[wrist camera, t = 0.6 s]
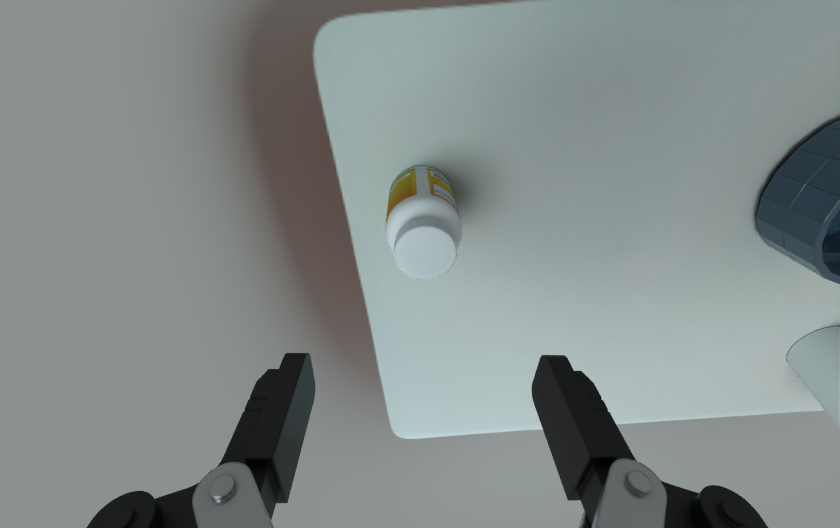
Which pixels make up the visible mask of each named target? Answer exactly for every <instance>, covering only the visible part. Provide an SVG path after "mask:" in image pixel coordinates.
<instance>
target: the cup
mask: <svg viewBox="0 0 840 528" xmlns="http://www.w3.org/2000/svg"><path fill="white" fill-rule="evenodd" d="M786 357H787V362H788V363H789V364H790V366H791V367H792V368H793V370H794V371H795V372H796V373H797V375H798V376H799V377H800V379H801V380H802V381H803V382H804V384H805V385H806V386H807V388H808V389H809V390H810V391H811V393H812V394H813V395H814V397H815V398H816V399H817V401H818V402H819V403H820V404H821V406H822V407H823V408H824V410H825V411H826V412H827V413H828V414H829V416H830V417H831V419H832V420H833V421H834V422H835V424H836V425H837V426H838V428H839V429H840V326H837V327H828V328H823V329H820V330H817V331H815V332H812V333H810V334H808V335H806V336H805V337H803V338H802V339H800V340H799V341H797V342H796V343H795V344H794V345H793V346H792V347H791V349H790V350H789V351H788V354H787V356H786Z"/></svg>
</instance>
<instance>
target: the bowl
mask: <svg viewBox="0 0 840 528" xmlns="http://www.w3.org/2000/svg"><path fill="white" fill-rule="evenodd" d="M757 223H758V230H759V234H760V236H761V237H762V238H763V239H764V240H765V241H766V243H767V244H768V245H769V246H770V247H772V248H774V249H776V250H777V251H779V252H781V253H782V254H784V255H786V256H787V257H789V258H791V259H793V260H794V261H796V262H798V263H799V264H801V265H803V266H804V267H806V268H808V269H810V270H811V271H813V272H815V273H816V274H818V275H820V276H821V277H823V278H825V279H827V280H830V281H833V282H835V283H838V284H840V120H838V121H836V122H834V123H832V124H830V125H828V126H827V127H825V128H824V129H822V130H821V131H820V132H818V133H817V134H816V135H814V136H813V137H812V138H810V139H809V140H808V141H807V142H805V143H804V144H803V145H801V146H800V147H799V148H798V149H797V150H796V151H795V152H794V153H793V154H792V155H791V156H790V157H789V158H788V159H787V160H786V162H785V163H784V164H783V165H782V166H781V167H780V168H779V169H778V170H777V172H776V173H775V174H774V176H773V178H772V179H771V181H770V183H769V184H768V186H767V188H766V190H765V191H764V193H763V195H762V197H761V201H760V205H759V209H758V213H757Z"/></svg>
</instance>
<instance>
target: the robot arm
mask: <svg viewBox="0 0 840 528" xmlns="http://www.w3.org/2000/svg"><path fill="white" fill-rule="evenodd" d="M314 396H315V380H314V374H313V368H312V363H311V357H310V354H309V353H286V354H285V356H284V358H283V360H282V363H281V365H280V368H279V369H268V370H267V371H266V372H265V374H264V375H263V376H262V377H261V378H260V379H259V380H258V381H257V382H256V384H255V387H254V389H253V391H252V393H251V396H250V399H249V400H248V402H247V405H246V407H245V411H244V412H243V414H242V416H241V418H240V420H239V423H238V425H237V428H236V430H235V432H234V434H233V437H232V439H231V441H230V443H229V446H228V448H227V450H226V452H225V454H224V457H223V459H222V461H221V462H220V464H219V465H218V466H217V467H216V468H214V469H213V470H211V471H210V472H209V473H208V474H207V475H206V476H205V477H204V478H203V479H202V480H201V481H200V482H199V483H198V484H196V485H194V486H192V487H189V488H187V489H183V490H181V491H177V492H175V493H171V494H168V495H165V496H162V497H159V498H156V499H154V498H153V496H152V495H150V494H149V493H147V492H144V491H134V492H130V493H126V494H124V495H122V496H120V497H118V498H116V499H114V500H113V501H111V502H110V503H108V504H107V505H106V506H105V507H104V508H102V509H101V510H100V511H99V512H98V513H97V514H96V516H95V517H94V518H93V519H92V520H91V522H90V523H89V525H88V527H87V528H274V527H273V525H272V522H271V519H272V515H273V512H274V508H275V504H276V503H287V502H288V498H289V494H290V490H291V487H292V482H293V479H294V475H295V471H296V467H297V464H298V460H299V456H300V452H301V448H302V444H303V440H304V436H305V433H306V428H307V425H308V421H309V417H310V413H311V410H312V406H313V402H314ZM532 397H533V402H534V405H535V408H536V410H537V413H538V416H539V419H540V422H541V425H542V428H543V430H544V433H545V436H546V439H547V442H548V445H549V448H550V450H551V453H552V456H553V459H554V462H555V465H556V467H557V470H558V473H559V476H560V479H561V482H562V485H563V487H564V490H565V493H566V496H567V499H568V500H581V502H582V505H583V508H584V510H585V511H584V513H583V515H582V518H581V522H580V525H579V528H768V527H767V525H766V524H765V522H764V521H763V520H762V518H761V517H760V515H759V514H758V513H757V511H756V510H755V509H754V508H753V507H752V506H751V505H750V504H749V503H748V502H747V501H746V500H745V499H743V498H742V497H741V496H739V495H738V494H736V493H735V492H733V491H731V490H729V489H727V488H724V487H721V486H715V485H712V486H707V487H705V488H704V489H703V490H702V491H701V492H700V493H696V492H693V491H690V490H686V489H683V488H680V487H677V486H674V485H670V484H668V483H665V482H663V481H661V480H660V479H659V478H658V477H657V476H656V474H655V473H654V472H653V471H651V470H650V469H649V468H648V467H646V466H645V465H643V464H642V463H640V462H638V461H636V459H635V458H634V456H633V455H632V453H631V451H630V449H629V447H628V445H627V444H626V442H625V440H624V438H623V436H622V434H621V433H620V431H619V429H618V427H617V425H616V423H615V422H614V420H613V418H612V416H611V414H610V412H608V410H607V407H606V405H605V403H604V401H603V400H601V396H600V394H599V392H598V390H597V389H596V387H595V385H594V383H593V382H592V381H591V380H590V379H589V378H588V377H587V376H586V375H585V374H584V373H583V372H582V371H574V370H573V368H572V366H571V364H570V362H569V360H568V359H567V357H566V356H564V355H542V356H541V358H540V360H539V364H538V367H537V370H536V373H535V377H534V380H533V383H532Z"/></svg>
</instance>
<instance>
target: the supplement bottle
mask: <svg viewBox="0 0 840 528" xmlns="http://www.w3.org/2000/svg"><path fill="white" fill-rule="evenodd" d="M385 230H386V239H387V243H388V245H389V247H390V249H391V251H392V252H393V253H394V257H395V261H396V264H397V265H398V267H399V268H400V270H401V271H402V272H404V273H405V274H406V275H408V276H410V277H412V278H415V279H420V280H429V279H434V278H437V277H440V276H442V275H444V274H445V273H446V272H447V271H449V270H450V269H451V267H452V266H453V264H454V262H455V260H456V256H457V248H458V246H459V244H460V241H461V238H462V225H461V220H460V216H459V213H458V209H457V206H456V202H455V199H454V195H453V192H452V189H451V186H450V184H449V182H448V180H447V179H446V178H445V176H444V175H443V174H441V173H440V172H439V171H437V170H435V169H433V168H430V167H425V166H418V167H413V168H410V169H407V170H405V171H404V172H402V173H401V174H400V175H398V176H397V178H396V179H395V180H394V182H393V183H392V186H391V188H390V192H389V200H388V209H387V218H386V228H385Z"/></svg>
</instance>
